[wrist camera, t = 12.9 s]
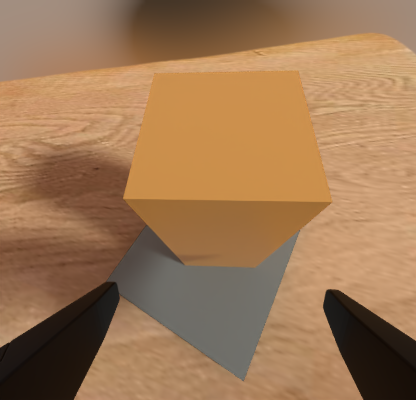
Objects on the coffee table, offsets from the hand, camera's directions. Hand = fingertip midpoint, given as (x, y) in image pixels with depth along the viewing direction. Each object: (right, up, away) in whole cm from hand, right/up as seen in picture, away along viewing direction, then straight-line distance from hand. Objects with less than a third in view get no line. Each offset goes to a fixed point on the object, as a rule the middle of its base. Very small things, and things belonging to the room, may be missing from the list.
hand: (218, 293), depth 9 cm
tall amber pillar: (+1, +1, +9) cm, 9 cm away
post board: (0, +1, +10) cm, 10 cm away
